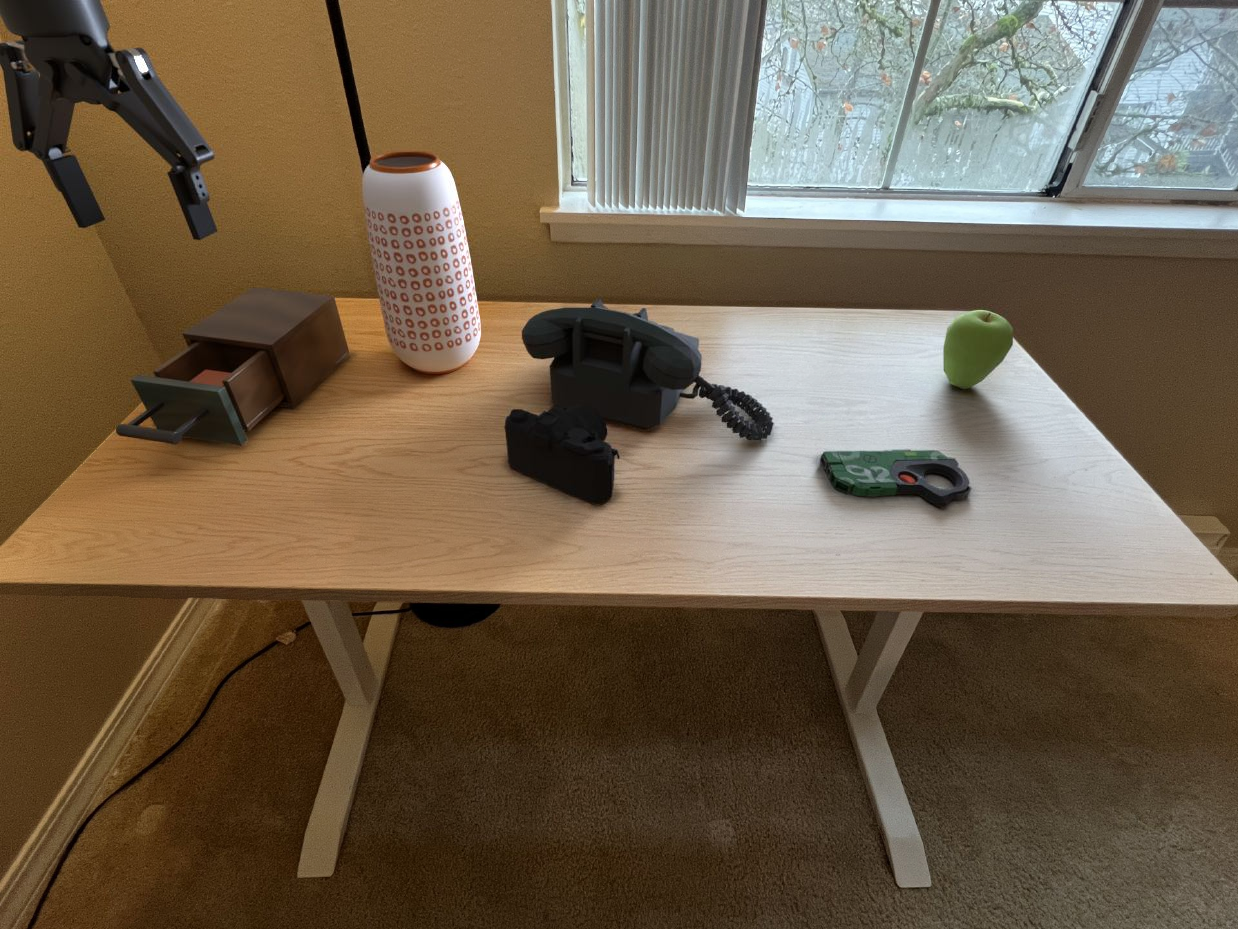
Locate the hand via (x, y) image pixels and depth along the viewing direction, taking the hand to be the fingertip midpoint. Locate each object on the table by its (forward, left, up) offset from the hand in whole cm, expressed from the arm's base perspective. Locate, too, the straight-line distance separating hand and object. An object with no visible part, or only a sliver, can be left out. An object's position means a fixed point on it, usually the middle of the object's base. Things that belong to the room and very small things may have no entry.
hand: (148, 229), depth 68 cm
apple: (+94, -39, -25) cm, 104 cm away
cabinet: (+8, +9, -25) cm, 27 cm away
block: (0, -1, -23) cm, 23 cm away
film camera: (+34, -29, -25) cm, 52 cm away
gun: (+68, -50, -25) cm, 88 cm away
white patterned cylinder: (+29, +3, -25) cm, 38 cm away
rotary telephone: (+53, -21, -25) cm, 62 cm away
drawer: (-1, -1, -24) cm, 24 cm away
